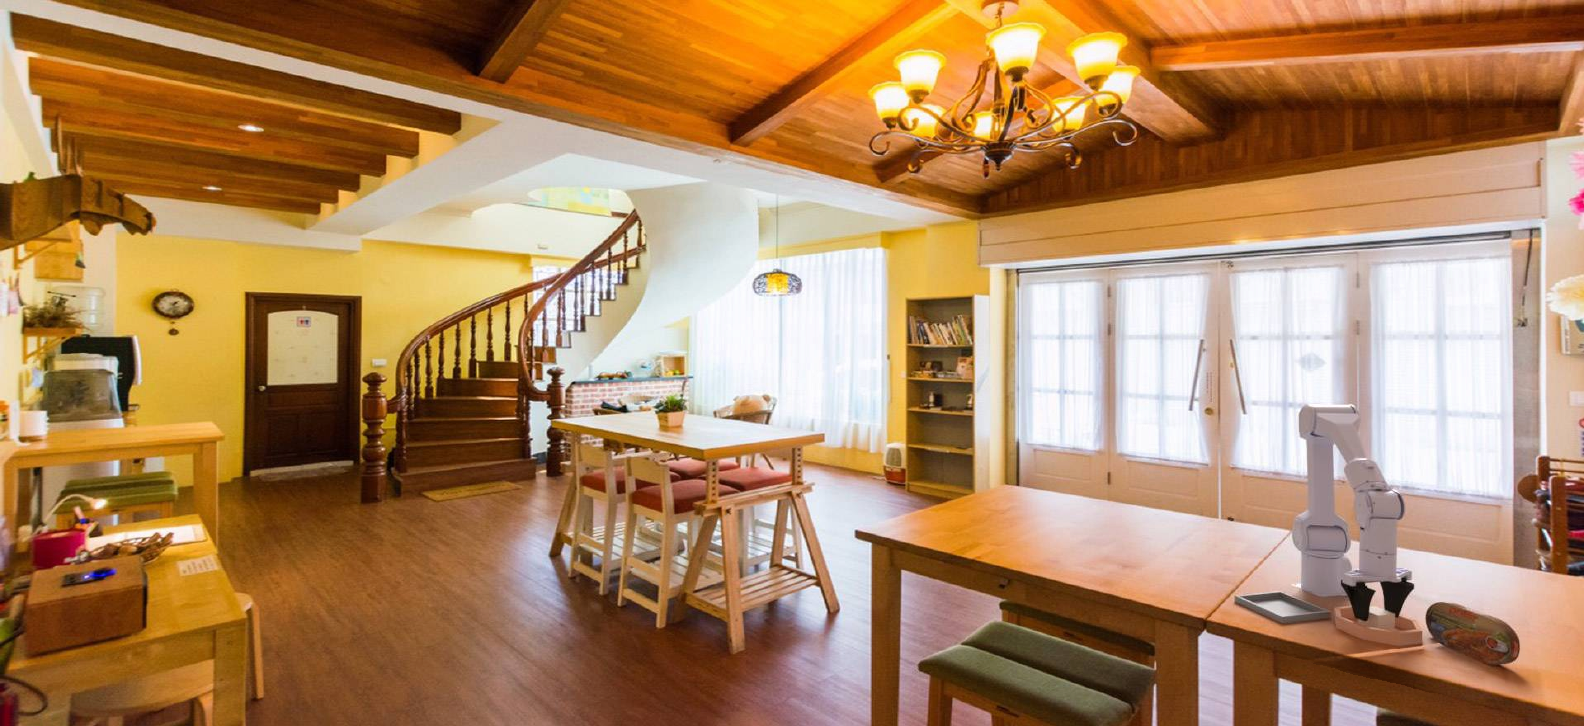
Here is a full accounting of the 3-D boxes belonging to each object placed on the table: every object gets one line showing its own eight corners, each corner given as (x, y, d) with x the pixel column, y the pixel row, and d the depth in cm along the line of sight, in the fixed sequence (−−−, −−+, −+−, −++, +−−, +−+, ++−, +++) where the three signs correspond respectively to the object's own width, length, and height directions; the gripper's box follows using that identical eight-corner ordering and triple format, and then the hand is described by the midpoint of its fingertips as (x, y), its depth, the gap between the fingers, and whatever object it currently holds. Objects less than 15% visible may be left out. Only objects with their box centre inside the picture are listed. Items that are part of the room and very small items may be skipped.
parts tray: (1280, 599, 158) (1280, 590, 158) (1330, 620, 147) (1330, 611, 146) (1234, 604, 156) (1234, 595, 156) (1282, 626, 144) (1282, 616, 144)
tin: (1423, 637, 138) (1424, 595, 138) (1438, 636, 139) (1439, 594, 138) (1507, 674, 123) (1508, 627, 123) (1523, 673, 124) (1524, 626, 123)
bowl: (1370, 617, 148) (1370, 603, 148) (1437, 644, 135) (1438, 628, 135) (1318, 623, 145) (1319, 609, 145) (1382, 651, 133) (1383, 635, 132)
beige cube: (1374, 625, 143) (1374, 606, 142) (1394, 633, 139) (1395, 613, 138) (1358, 627, 142) (1358, 607, 142) (1377, 635, 138) (1378, 615, 138)
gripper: (1368, 559, 134) (1366, 629, 135) (1428, 553, 137) (1427, 621, 138) (1333, 548, 141) (1331, 614, 142) (1391, 543, 144) (1390, 608, 145)
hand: (1376, 617), depth 140 cm, fingers open, 7 cm apart
